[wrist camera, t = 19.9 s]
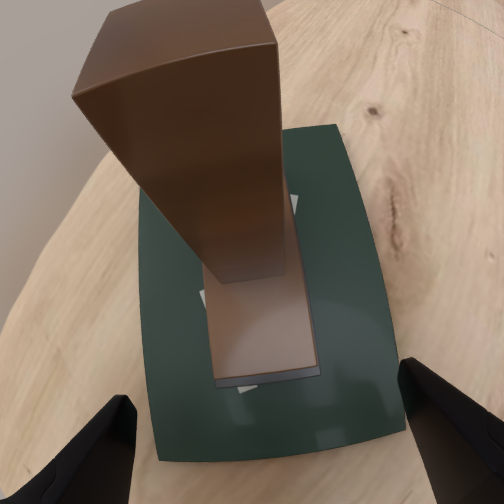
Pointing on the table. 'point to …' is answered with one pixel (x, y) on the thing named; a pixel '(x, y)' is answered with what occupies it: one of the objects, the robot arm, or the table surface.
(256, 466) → the table surface
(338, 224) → the chalkboard
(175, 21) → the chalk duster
